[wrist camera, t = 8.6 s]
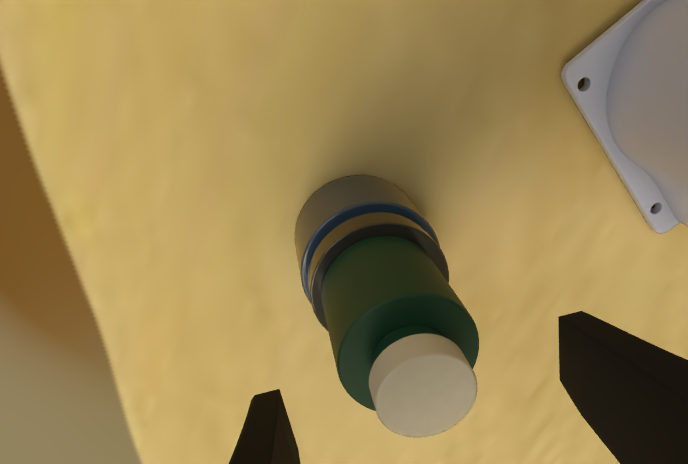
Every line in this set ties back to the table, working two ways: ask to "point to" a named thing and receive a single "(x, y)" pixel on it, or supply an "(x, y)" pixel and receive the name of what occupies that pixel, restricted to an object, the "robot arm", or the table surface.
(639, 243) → the table surface
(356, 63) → the table surface
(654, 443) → the robot arm
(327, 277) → the green bottle
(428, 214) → the table surface
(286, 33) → the table surface
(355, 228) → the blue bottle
